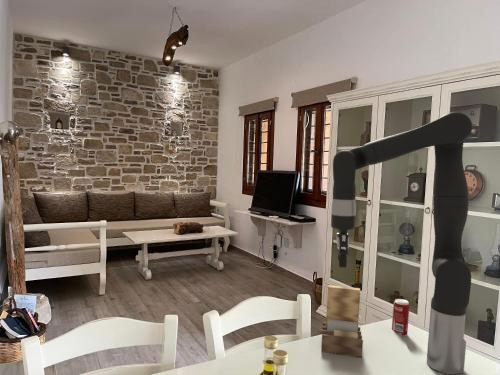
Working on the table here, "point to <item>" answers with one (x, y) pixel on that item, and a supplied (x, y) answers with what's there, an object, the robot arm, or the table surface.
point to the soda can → (400, 316)
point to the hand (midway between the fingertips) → (341, 263)
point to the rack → (341, 344)
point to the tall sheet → (343, 304)
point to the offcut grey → (341, 325)
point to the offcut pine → (345, 334)
